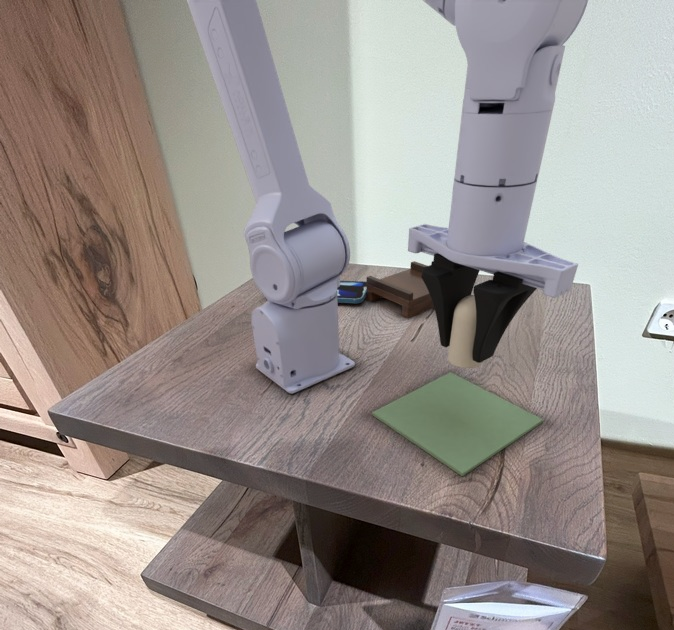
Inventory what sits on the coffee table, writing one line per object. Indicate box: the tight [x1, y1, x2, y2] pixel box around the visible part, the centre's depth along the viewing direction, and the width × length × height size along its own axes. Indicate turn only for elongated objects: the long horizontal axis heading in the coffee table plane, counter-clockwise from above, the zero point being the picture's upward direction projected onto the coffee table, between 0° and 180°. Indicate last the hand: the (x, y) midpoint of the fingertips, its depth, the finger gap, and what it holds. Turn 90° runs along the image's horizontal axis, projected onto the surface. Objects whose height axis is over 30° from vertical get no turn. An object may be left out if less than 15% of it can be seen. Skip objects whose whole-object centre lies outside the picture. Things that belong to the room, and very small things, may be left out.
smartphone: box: [337, 279, 367, 305], centre depth 71 cm, size 7×1×15 cm
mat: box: [371, 371, 544, 477], centre depth 46 cm, size 12×12×1 cm
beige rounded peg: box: [447, 294, 484, 369], centre depth 40 cm, size 3×3×6 cm
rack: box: [365, 260, 434, 319], centre depth 68 cm, size 10×9×4 cm
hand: (466, 350), depth 41 cm, fingers closed on beige rounded peg, 3 cm apart
